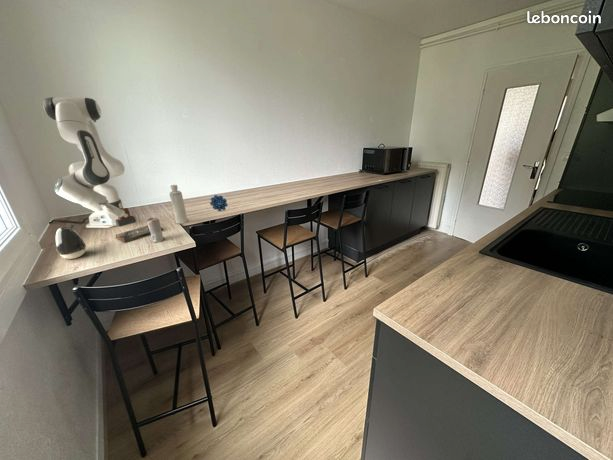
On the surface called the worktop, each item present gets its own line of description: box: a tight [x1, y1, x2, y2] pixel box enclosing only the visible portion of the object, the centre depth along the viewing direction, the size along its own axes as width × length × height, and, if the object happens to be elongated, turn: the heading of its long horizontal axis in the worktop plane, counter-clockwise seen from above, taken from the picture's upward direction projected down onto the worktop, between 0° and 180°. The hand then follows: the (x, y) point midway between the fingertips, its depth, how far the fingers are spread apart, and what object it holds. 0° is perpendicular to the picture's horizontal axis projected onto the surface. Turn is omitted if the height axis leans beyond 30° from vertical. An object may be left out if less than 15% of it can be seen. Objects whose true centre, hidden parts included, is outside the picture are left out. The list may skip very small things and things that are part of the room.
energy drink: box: [146, 217, 165, 243], centre depth 132 cm, size 5×5×12 cm
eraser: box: [115, 207, 137, 227], centre depth 134 cm, size 8×4×8 cm, turn 143°
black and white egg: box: [54, 224, 87, 260], centre depth 117 cm, size 10×10×15 cm
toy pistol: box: [115, 224, 164, 243], centre depth 143 cm, size 20×12×2 cm, turn 143°
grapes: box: [209, 194, 228, 212], centre depth 174 cm, size 12×7×12 cm, turn 122°
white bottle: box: [169, 184, 189, 224], centre depth 155 cm, size 7×7×25 cm
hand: (125, 215), depth 134 cm, fingers closed on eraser, 3 cm apart
